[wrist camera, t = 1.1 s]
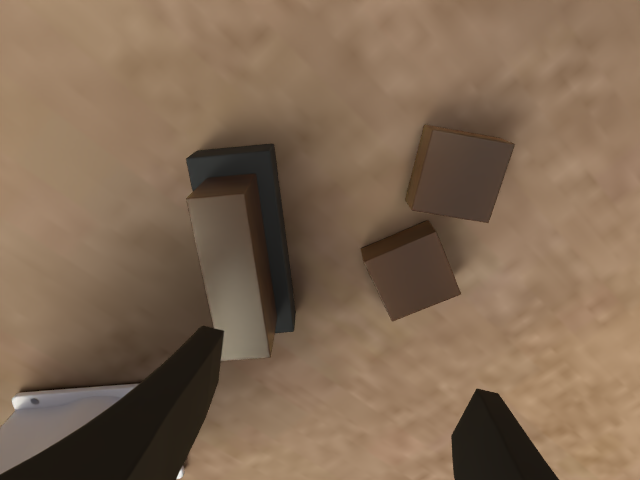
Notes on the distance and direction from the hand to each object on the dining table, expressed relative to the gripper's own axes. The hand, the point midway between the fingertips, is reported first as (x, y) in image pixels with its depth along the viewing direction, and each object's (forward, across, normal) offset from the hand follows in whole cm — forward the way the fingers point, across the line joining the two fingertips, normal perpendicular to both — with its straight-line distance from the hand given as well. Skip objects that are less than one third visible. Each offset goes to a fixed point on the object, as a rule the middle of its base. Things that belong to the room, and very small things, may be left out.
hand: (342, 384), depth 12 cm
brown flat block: (+14, -4, -3) cm, 14 cm away
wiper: (+12, +5, +3) cm, 13 cm away
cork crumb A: (+13, -4, +3) cm, 13 cm away
